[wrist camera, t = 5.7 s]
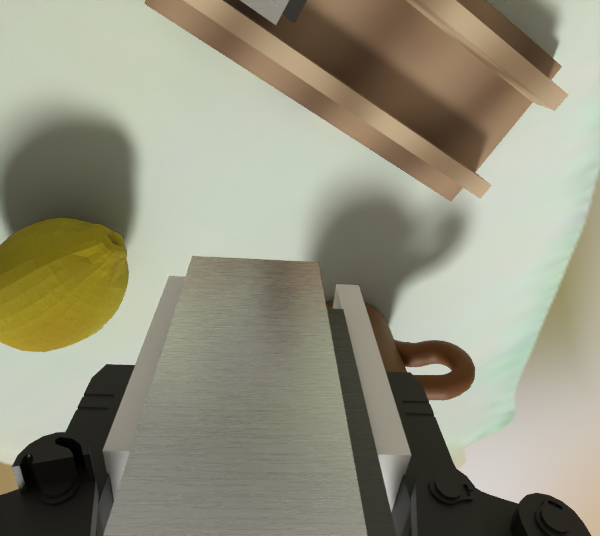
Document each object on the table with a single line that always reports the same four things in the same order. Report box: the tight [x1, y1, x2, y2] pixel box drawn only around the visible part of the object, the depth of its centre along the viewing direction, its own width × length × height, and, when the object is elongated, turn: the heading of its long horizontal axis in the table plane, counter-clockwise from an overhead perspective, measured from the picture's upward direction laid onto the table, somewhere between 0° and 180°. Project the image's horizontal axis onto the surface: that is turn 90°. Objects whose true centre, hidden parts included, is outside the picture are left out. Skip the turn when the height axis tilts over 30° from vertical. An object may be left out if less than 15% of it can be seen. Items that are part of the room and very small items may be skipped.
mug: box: [326, 300, 475, 400], centre depth 33 cm, size 12×8×9 cm, turn 108°
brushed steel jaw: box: [103, 256, 397, 536], centre depth 11 cm, size 5×4×10 cm
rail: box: [144, 0, 568, 201], centre depth 25 cm, size 22×10×4 cm, turn 58°
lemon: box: [0, 218, 129, 352], centre depth 29 cm, size 11×8×8 cm
